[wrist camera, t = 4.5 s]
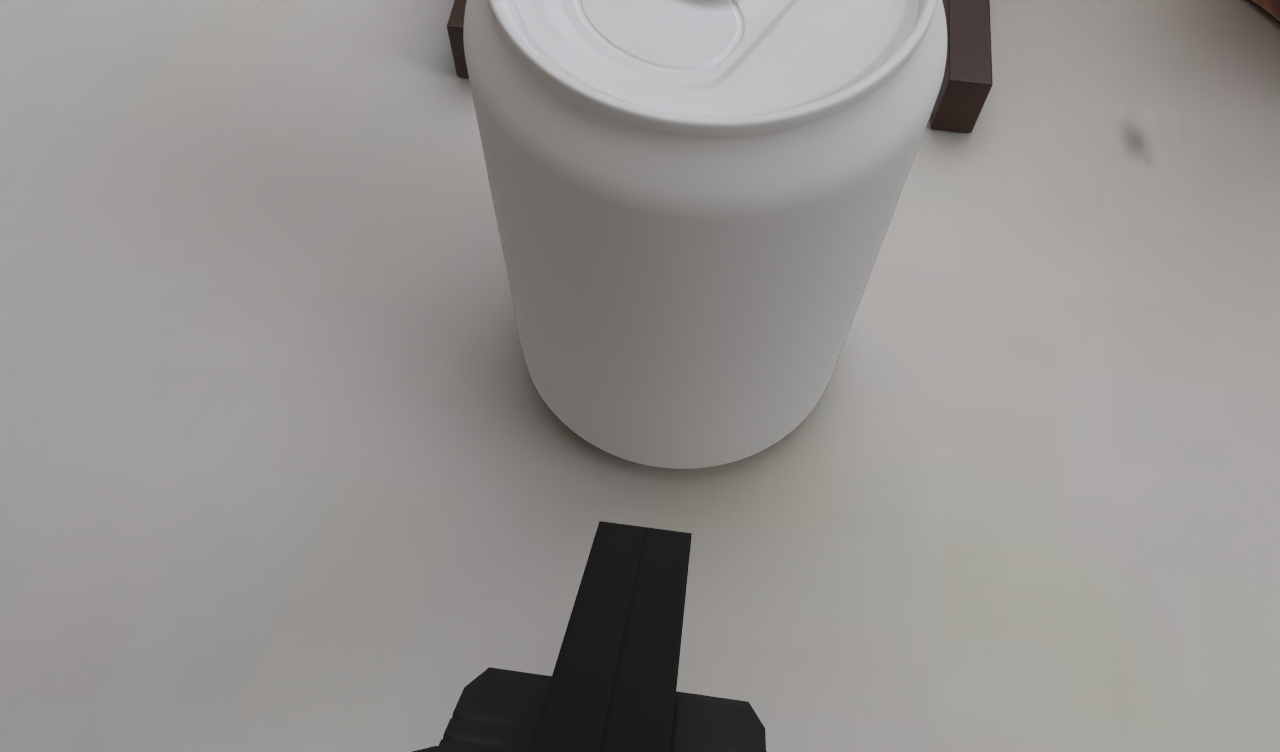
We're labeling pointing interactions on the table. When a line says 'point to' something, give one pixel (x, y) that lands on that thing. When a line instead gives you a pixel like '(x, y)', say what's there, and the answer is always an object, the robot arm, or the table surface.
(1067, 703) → the table surface
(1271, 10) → the candy box
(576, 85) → the beverage can
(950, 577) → the table surface
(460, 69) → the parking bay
